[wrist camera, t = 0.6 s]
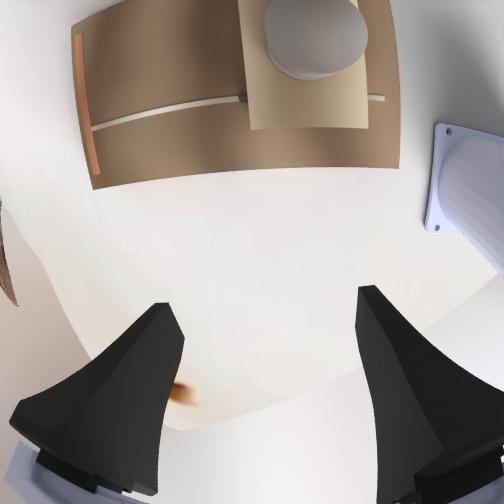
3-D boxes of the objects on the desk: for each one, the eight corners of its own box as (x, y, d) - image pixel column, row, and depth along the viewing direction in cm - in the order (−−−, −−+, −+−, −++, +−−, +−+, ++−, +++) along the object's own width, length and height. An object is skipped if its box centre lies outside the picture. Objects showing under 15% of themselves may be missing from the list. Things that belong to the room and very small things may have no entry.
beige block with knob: (324, -44, 8) (351, -113, 1) (344, 121, 14) (402, 141, 7) (229, -41, 9) (198, -112, 2) (246, 123, 15) (220, 143, 8)
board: (374, -11, 9) (385, -21, 8) (386, 160, 16) (399, 169, 14) (88, 29, 12) (70, 26, 10) (108, 180, 18) (92, 190, 16)
